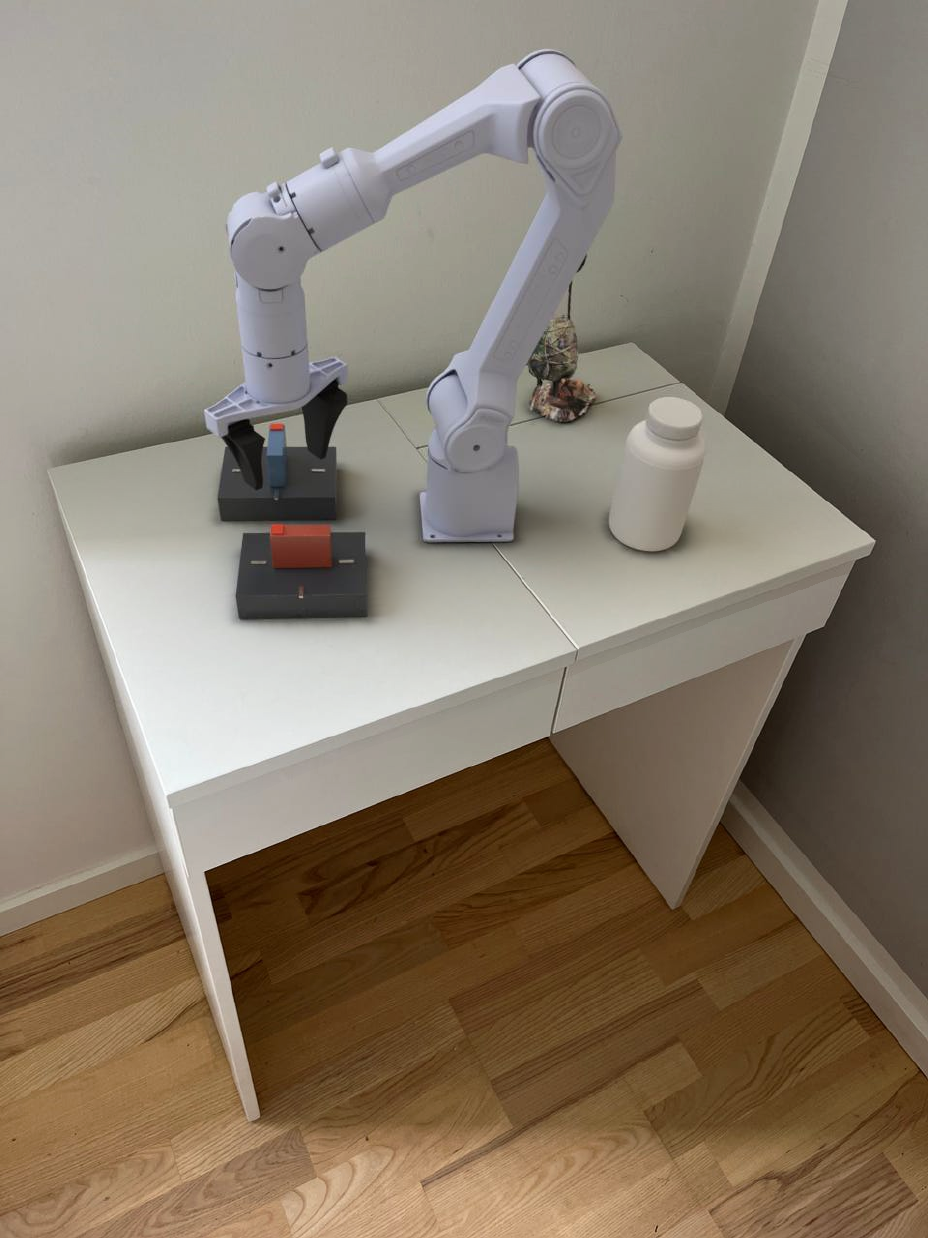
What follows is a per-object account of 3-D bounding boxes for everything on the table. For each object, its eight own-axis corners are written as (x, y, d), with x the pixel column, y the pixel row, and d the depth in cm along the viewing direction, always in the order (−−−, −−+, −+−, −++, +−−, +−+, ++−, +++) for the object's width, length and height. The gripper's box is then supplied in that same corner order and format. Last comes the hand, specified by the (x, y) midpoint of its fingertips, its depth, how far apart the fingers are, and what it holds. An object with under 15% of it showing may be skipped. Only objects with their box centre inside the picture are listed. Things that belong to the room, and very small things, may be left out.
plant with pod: (500, 403, 118) (516, 245, 104) (568, 377, 123) (592, 224, 109) (542, 435, 114) (564, 275, 99) (611, 407, 119) (641, 252, 104)
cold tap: (285, 486, 99) (282, 453, 96) (269, 486, 99) (266, 453, 96) (287, 455, 103) (284, 422, 100) (272, 455, 102) (269, 422, 99)
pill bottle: (679, 559, 99) (715, 440, 88) (603, 546, 100) (630, 425, 89) (682, 513, 105) (717, 395, 94) (610, 500, 105) (636, 382, 95)
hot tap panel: (365, 551, 97) (365, 528, 95) (366, 619, 90) (366, 595, 88) (246, 553, 96) (242, 529, 93) (238, 621, 89) (234, 597, 87)
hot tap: (331, 556, 92) (330, 522, 89) (331, 567, 90) (330, 533, 87) (274, 557, 91) (270, 522, 88) (273, 568, 90) (269, 534, 87)
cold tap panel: (337, 466, 107) (336, 443, 104) (336, 522, 100) (335, 498, 98) (228, 466, 105) (225, 443, 103) (220, 522, 99) (216, 498, 96)
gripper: (312, 300, 88) (319, 423, 98) (176, 349, 81) (198, 478, 90) (361, 330, 85) (363, 454, 94) (224, 384, 77) (241, 514, 87)
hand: (285, 468), depth 92 cm, fingers open, 7 cm apart
